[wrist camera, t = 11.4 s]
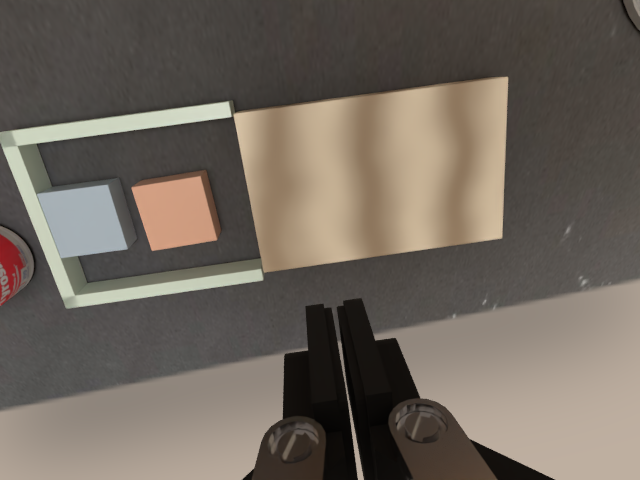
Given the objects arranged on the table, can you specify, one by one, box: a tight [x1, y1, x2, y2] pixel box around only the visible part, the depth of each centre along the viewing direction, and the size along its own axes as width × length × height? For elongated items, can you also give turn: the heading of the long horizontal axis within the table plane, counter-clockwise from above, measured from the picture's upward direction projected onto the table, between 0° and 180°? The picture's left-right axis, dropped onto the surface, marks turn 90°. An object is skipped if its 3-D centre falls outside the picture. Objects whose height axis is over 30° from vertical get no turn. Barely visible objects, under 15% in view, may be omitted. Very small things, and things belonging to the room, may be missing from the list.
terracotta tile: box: [131, 170, 221, 251], centre depth 32 cm, size 5×5×2 cm
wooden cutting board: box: [234, 77, 508, 272], centre depth 32 cm, size 19×12×2 cm, turn 97°
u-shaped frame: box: [0, 100, 264, 309], centre depth 32 cm, size 16×14×2 cm
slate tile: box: [37, 178, 137, 258], centre depth 32 cm, size 5×5×2 cm
